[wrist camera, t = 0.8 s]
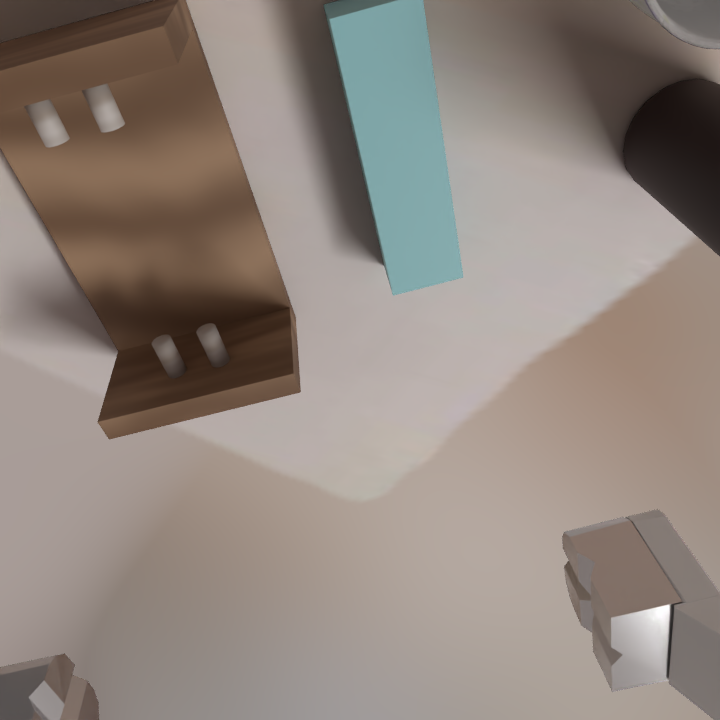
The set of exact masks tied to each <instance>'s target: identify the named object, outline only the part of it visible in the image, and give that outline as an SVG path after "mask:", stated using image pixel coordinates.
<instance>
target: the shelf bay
mask: <svg viewBox="0 0 720 720" xmlns="http://www.w3.org/2000/svg"><path fill="white" fill-rule="evenodd" d="M0 148H1V150H2V152H3V153H4V155H5V157H6V159H7V160H8V162H9V164H10V165H11V167H12V169H13V171H14V172H15V174H16V176H17V178H18V179H19V181H20V183H21V184H22V186H23V188H24V190H25V191H26V193H27V195H28V196H29V198H30V200H31V202H32V203H33V205H34V207H35V208H36V210H37V212H38V214H39V215H40V217H41V219H42V221H43V222H44V224H45V226H46V227H47V229H48V231H49V233H50V234H51V236H52V238H53V239H54V241H55V243H56V245H57V246H58V248H59V250H60V252H61V253H62V255H63V257H64V258H65V260H66V262H67V264H68V265H69V267H70V269H71V270H72V272H73V274H74V276H75V277H76V279H77V281H78V282H79V284H80V286H81V288H82V289H83V291H84V293H85V295H86V296H87V298H88V300H89V301H90V303H91V305H92V307H93V308H94V310H95V312H96V313H97V315H98V317H99V319H100V320H101V322H102V324H103V325H104V327H105V329H106V331H107V332H108V334H109V336H110V338H111V339H112V341H113V343H114V344H115V346H116V348H117V350H118V354H117V358H116V361H115V365H114V368H113V371H112V375H111V378H110V382H109V385H108V388H107V392H106V395H105V399H104V402H103V406H102V409H101V412H100V416H99V420H98V423H99V425H100V426H101V428H102V429H103V431H104V432H105V434H106V435H107V437H108V438H109V439H113V438H117V437H121V436H125V435H129V434H133V433H137V432H141V431H145V430H149V429H153V428H157V427H161V426H166V425H170V424H174V423H178V422H182V421H186V420H190V419H194V418H198V417H202V416H206V415H210V414H214V413H218V412H222V411H226V410H231V409H235V408H239V407H243V406H247V405H251V404H255V403H259V402H263V401H267V400H271V399H275V398H279V397H283V396H287V395H291V394H296V393H300V392H301V390H300V375H299V360H298V345H297V330H296V317H295V314H294V311H293V308H292V305H291V303H290V300H289V297H288V294H287V291H286V288H285V285H284V282H283V280H282V277H281V274H280V271H279V268H278V265H277V262H276V259H275V256H274V254H273V251H272V248H271V245H270V242H269V239H268V236H267V233H266V231H265V228H264V225H263V222H262V219H261V216H260V213H259V210H258V208H257V205H256V202H255V199H254V196H253V193H252V190H251V187H250V184H249V182H248V179H247V176H246V173H245V170H244V167H243V164H242V161H241V159H240V156H239V153H238V150H237V147H236V144H235V141H234V138H233V135H232V133H231V130H230V127H229V124H228V121H227V118H226V115H225V112H224V110H223V107H222V104H221V101H220V98H219V95H218V92H217V89H216V87H215V84H214V81H213V78H212V75H211V72H210V69H209V66H208V63H207V61H206V58H205V55H204V52H203V49H202V46H201V43H200V40H199V38H198V35H197V32H196V29H195V26H194V23H193V20H192V17H191V14H190V12H189V9H188V6H187V3H186V0H154V1H151V2H147V3H143V4H140V5H136V6H132V7H129V8H125V9H122V10H118V11H114V12H111V13H107V14H104V15H100V16H96V17H93V18H89V19H85V20H82V21H78V22H75V23H71V24H67V25H64V26H60V27H57V28H53V29H49V30H46V31H42V32H38V33H35V34H31V35H28V36H24V37H20V38H17V39H13V40H10V41H6V42H2V43H0Z"/></svg>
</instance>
